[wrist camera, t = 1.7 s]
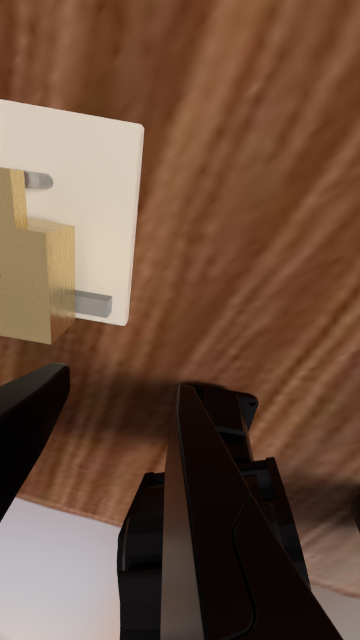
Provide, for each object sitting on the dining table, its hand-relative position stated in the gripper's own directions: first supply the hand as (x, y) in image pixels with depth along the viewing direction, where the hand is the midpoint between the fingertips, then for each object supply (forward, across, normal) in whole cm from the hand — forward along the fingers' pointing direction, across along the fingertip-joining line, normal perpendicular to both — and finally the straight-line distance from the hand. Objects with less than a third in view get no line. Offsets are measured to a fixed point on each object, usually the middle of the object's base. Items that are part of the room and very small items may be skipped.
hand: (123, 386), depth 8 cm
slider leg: (+11, +7, -1) cm, 13 cm away
